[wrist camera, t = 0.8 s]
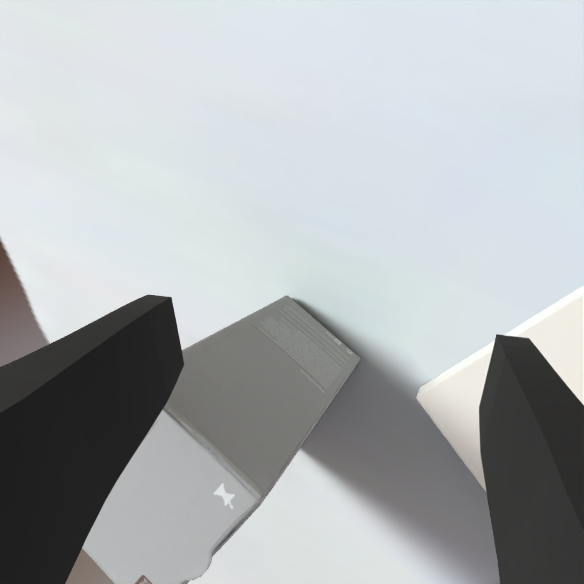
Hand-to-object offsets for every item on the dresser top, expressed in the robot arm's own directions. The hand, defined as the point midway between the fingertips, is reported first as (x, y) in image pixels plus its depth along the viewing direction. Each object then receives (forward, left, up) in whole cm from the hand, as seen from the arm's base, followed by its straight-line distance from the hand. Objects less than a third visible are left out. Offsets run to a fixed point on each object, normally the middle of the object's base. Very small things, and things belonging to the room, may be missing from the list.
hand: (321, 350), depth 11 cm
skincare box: (0, +10, -19) cm, 22 cm away
